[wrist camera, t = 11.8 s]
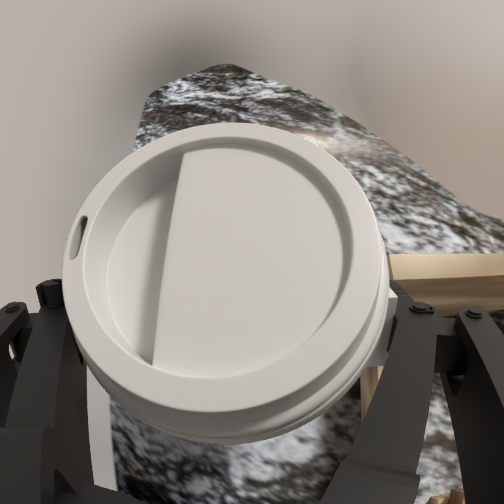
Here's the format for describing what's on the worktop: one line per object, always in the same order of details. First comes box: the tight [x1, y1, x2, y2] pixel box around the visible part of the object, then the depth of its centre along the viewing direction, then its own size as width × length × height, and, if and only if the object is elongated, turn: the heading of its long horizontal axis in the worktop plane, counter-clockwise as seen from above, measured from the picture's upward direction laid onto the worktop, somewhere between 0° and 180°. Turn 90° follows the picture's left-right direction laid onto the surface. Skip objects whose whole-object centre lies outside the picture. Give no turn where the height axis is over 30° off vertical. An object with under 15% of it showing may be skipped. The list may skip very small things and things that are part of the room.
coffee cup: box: [62, 123, 389, 445], centre depth 14 cm, size 10×10×15 cm
